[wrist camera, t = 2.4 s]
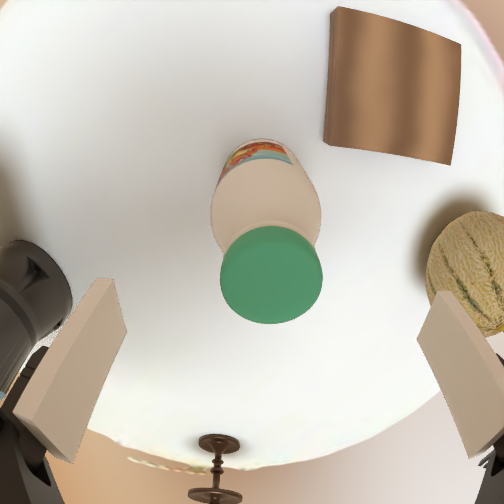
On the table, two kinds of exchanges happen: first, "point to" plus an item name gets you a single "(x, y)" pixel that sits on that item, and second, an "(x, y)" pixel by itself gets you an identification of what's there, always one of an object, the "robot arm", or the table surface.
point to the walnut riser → (391, 87)
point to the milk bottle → (267, 233)
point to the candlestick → (217, 471)
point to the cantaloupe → (471, 267)
